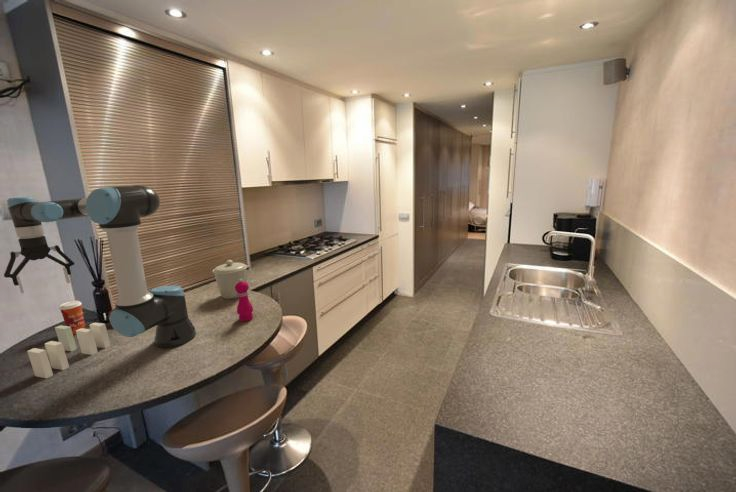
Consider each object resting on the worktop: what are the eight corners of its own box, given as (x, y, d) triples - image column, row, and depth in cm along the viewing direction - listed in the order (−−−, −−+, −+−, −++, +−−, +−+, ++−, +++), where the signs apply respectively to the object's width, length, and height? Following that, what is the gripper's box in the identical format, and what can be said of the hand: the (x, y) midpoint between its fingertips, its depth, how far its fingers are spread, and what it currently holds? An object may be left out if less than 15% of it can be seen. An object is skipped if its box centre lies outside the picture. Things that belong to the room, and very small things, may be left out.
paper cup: (75, 336, 143) (67, 307, 140) (61, 335, 145) (53, 306, 142) (93, 328, 151) (85, 300, 147) (80, 327, 152) (72, 299, 149)
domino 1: (53, 374, 115) (46, 349, 113) (46, 378, 113) (38, 353, 111) (42, 372, 117) (34, 347, 115) (35, 376, 115) (27, 351, 113)
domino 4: (98, 352, 129) (92, 329, 127) (92, 355, 127) (86, 332, 125) (87, 350, 131) (81, 327, 129) (81, 353, 129) (75, 330, 127)
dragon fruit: (127, 328, 153) (114, 326, 159) (139, 312, 158) (127, 311, 164) (110, 319, 147) (98, 318, 153) (124, 303, 152) (111, 302, 158)
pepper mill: (234, 320, 152) (228, 280, 147) (245, 314, 158) (240, 275, 154) (246, 322, 149) (241, 282, 145) (257, 316, 156) (252, 277, 151)
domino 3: (69, 366, 120) (62, 342, 118) (63, 370, 118) (55, 345, 116) (58, 364, 122) (51, 340, 120) (51, 367, 120) (44, 343, 118)
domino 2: (77, 348, 133) (71, 326, 131) (71, 351, 131) (64, 329, 129) (67, 347, 135) (60, 325, 132) (61, 349, 133) (54, 327, 130)
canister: (243, 301, 175) (238, 264, 170) (210, 302, 175) (204, 265, 170) (255, 289, 192) (251, 255, 187) (225, 290, 193) (220, 256, 188)
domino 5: (110, 345, 134) (105, 323, 132) (105, 348, 132) (99, 326, 130) (100, 344, 136) (94, 322, 133) (95, 346, 134) (89, 324, 131)
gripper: (71, 230, 139) (83, 277, 144) (-17, 241, 120) (0, 295, 125) (74, 232, 134) (87, 280, 139) (-17, 244, 115) (1, 299, 120)
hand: (46, 287), depth 132 cm, fingers open, 13 cm apart
